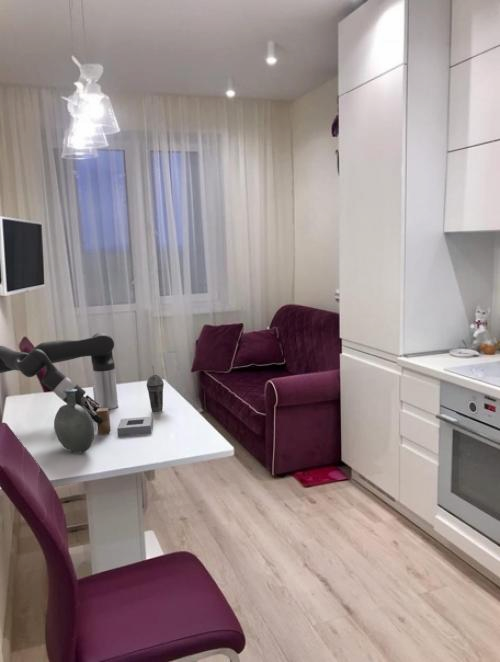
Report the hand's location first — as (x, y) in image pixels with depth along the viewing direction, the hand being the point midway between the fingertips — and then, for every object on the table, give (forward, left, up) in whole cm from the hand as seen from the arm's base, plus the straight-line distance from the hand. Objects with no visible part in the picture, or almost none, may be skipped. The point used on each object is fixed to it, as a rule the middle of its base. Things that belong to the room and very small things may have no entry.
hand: (103, 419), depth 197 cm
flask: (+4, -20, -5) cm, 21 cm away
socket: (+10, +6, -5) cm, 13 cm away
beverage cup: (+4, +30, -5) cm, 31 cm away
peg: (0, 0, -5) cm, 5 cm away
